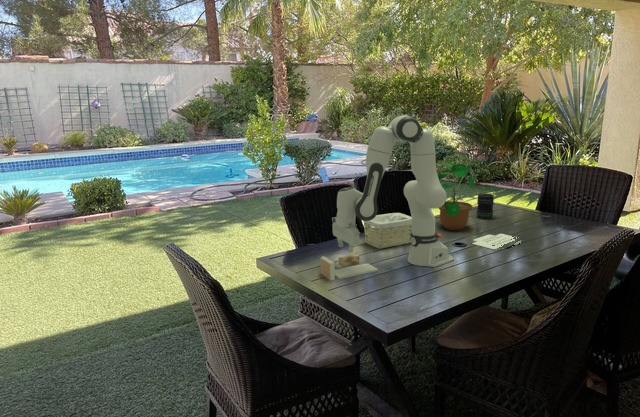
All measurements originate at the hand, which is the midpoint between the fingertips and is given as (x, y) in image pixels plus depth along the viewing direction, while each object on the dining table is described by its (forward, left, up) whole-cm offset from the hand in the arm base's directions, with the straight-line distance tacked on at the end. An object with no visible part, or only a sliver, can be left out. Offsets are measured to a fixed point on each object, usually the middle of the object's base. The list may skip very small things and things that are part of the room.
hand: (345, 249), depth 225 cm
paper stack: (-89, +9, -9) cm, 90 cm away
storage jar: (-120, -32, -8) cm, 124 cm away
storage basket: (-37, -18, -8) cm, 42 cm away
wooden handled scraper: (+1, 0, -8) cm, 8 cm away
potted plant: (-84, -25, -8) cm, 88 cm away
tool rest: (+1, +10, -8) cm, 13 cm away
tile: (+14, +9, -8) cm, 19 cm away
